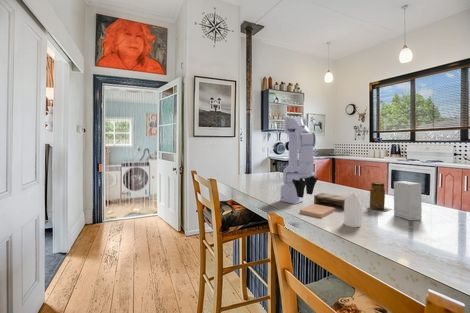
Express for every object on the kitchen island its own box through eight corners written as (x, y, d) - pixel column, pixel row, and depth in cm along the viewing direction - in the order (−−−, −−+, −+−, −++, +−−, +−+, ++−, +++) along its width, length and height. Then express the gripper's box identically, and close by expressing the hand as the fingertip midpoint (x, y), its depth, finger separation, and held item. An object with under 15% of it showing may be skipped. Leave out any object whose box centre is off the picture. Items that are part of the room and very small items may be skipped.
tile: (299, 214, 108) (299, 209, 108) (314, 208, 118) (314, 204, 118) (321, 219, 101) (321, 214, 101) (335, 212, 111) (335, 207, 111)
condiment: (372, 205, 121) (373, 181, 120) (391, 209, 114) (392, 183, 114) (365, 208, 116) (366, 183, 115) (385, 212, 110) (386, 185, 109)
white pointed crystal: (343, 194, 92) (346, 191, 96) (342, 225, 92) (345, 221, 97) (361, 195, 88) (363, 193, 93) (360, 228, 89) (362, 224, 94)
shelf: (314, 204, 123) (314, 195, 123) (321, 201, 129) (321, 192, 128) (344, 210, 113) (344, 200, 112) (350, 206, 118) (351, 197, 118)
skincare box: (421, 220, 98) (423, 183, 97) (408, 221, 97) (410, 184, 96) (404, 214, 106) (406, 180, 106) (392, 214, 106) (393, 180, 105)
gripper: (306, 164, 91) (305, 200, 92) (323, 162, 102) (322, 194, 103) (289, 163, 96) (289, 197, 97) (307, 161, 107) (306, 191, 107)
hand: (305, 195), depth 100 cm, fingers open, 7 cm apart
